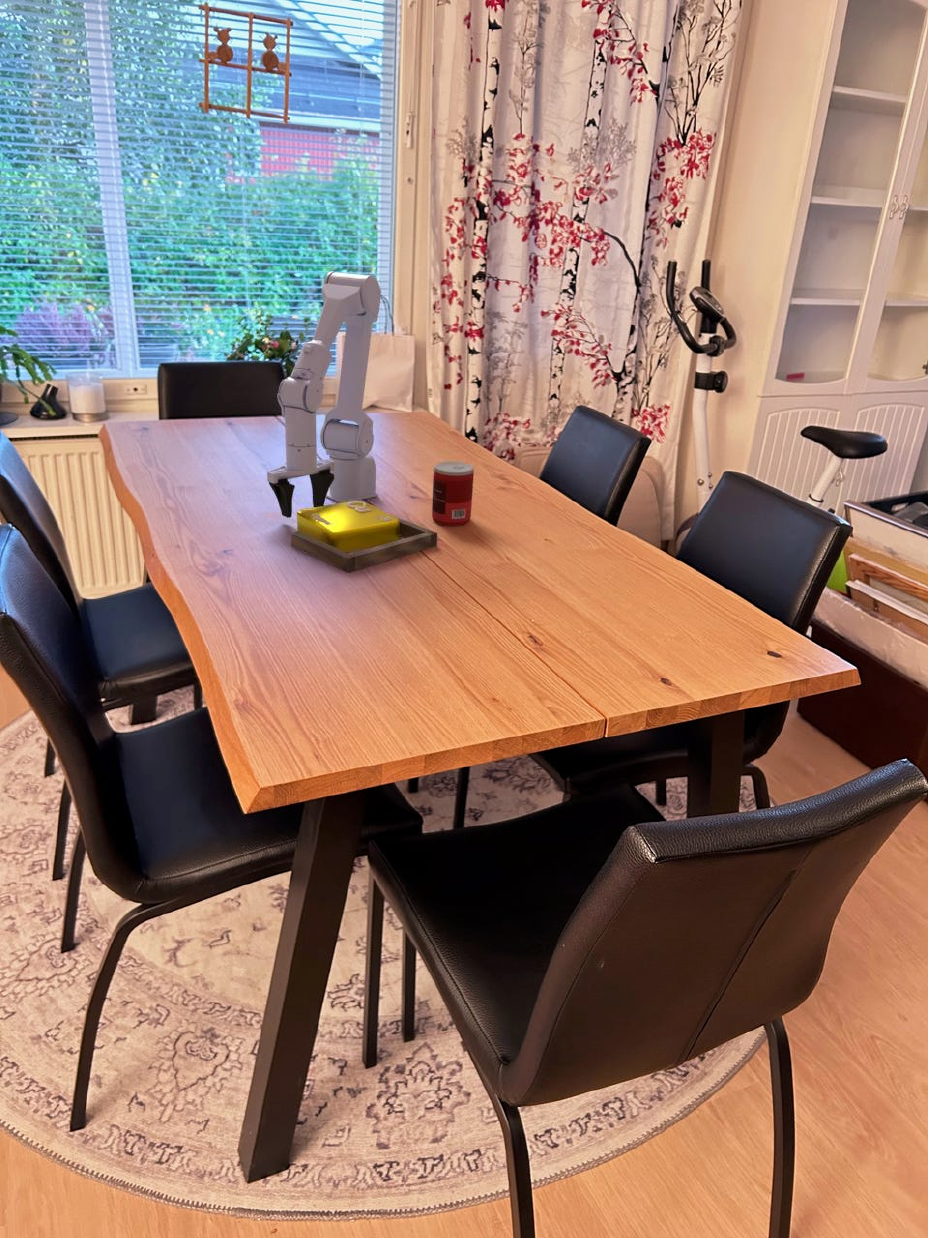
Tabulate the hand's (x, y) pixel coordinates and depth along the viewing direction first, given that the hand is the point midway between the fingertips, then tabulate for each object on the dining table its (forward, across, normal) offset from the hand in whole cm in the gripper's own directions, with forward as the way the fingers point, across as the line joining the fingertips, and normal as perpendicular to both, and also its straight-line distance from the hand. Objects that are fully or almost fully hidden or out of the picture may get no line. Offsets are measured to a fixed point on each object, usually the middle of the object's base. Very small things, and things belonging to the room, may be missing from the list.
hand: (302, 512), depth 174 cm
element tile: (+2, -1, +12) cm, 13 cm away
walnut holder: (+1, 0, +18) cm, 18 cm away
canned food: (+2, -23, +18) cm, 29 cm away
